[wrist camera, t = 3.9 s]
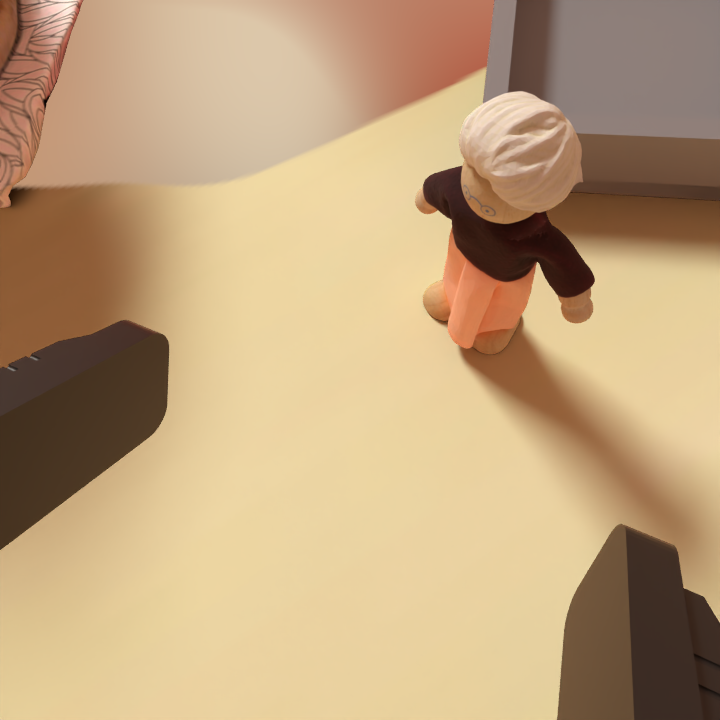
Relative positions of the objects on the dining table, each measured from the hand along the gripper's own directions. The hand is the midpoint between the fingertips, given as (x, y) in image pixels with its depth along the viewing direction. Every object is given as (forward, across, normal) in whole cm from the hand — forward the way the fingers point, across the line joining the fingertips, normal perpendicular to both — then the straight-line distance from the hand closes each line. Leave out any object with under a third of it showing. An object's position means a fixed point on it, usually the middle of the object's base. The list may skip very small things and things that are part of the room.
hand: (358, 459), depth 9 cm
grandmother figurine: (+17, 0, +4) cm, 17 cm away
